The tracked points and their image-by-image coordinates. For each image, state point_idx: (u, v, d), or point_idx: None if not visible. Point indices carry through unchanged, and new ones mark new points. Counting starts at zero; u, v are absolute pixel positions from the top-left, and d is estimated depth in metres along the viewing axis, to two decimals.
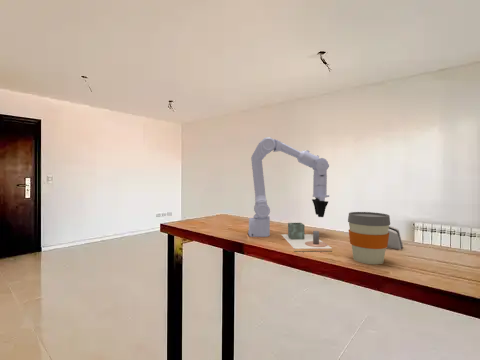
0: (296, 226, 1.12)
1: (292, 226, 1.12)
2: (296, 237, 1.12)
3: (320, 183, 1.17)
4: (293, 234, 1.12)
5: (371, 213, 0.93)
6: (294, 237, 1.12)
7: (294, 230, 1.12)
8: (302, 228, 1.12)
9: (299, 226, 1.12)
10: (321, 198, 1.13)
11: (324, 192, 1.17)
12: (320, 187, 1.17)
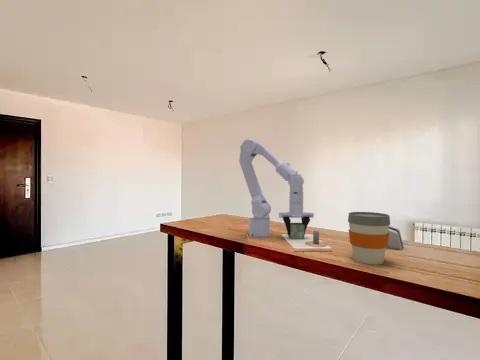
0: (296, 226, 1.12)
1: (292, 226, 1.12)
2: (296, 237, 1.12)
3: (293, 201, 1.12)
4: (293, 234, 1.12)
5: (371, 213, 0.93)
6: (294, 237, 1.12)
7: (294, 230, 1.12)
8: (302, 228, 1.12)
9: (299, 226, 1.12)
10: (279, 215, 1.14)
11: (291, 210, 1.13)
12: (289, 204, 1.14)
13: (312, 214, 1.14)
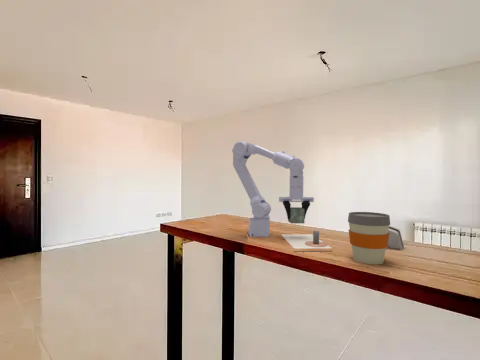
0: (296, 210, 1.12)
1: (292, 210, 1.12)
2: (296, 221, 1.12)
3: (293, 185, 1.12)
4: (293, 218, 1.12)
5: (371, 213, 0.93)
6: (294, 221, 1.12)
7: (294, 214, 1.12)
8: (302, 212, 1.12)
9: (299, 210, 1.12)
10: (279, 199, 1.14)
11: (291, 194, 1.13)
12: None
13: (312, 198, 1.14)
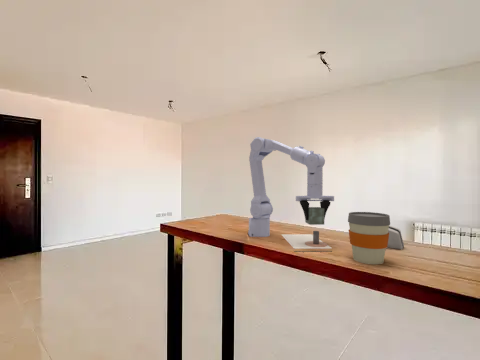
0: (315, 210, 1.02)
1: (311, 210, 1.02)
2: (315, 222, 1.02)
3: (310, 182, 1.03)
4: (312, 219, 1.02)
5: (371, 213, 0.93)
6: (313, 222, 1.02)
7: (313, 214, 1.02)
8: (322, 212, 1.02)
9: (318, 210, 1.02)
10: (296, 198, 1.04)
11: (310, 192, 1.03)
12: (307, 186, 1.04)
13: (332, 197, 1.04)
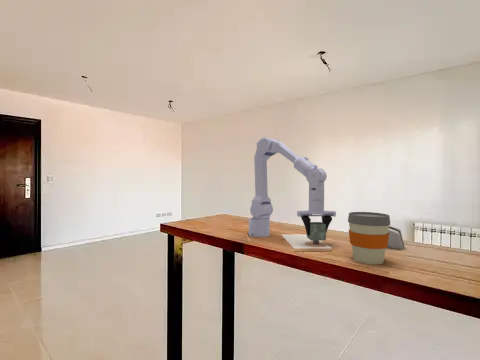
0: (317, 226, 1.01)
1: (312, 226, 1.01)
2: (317, 238, 1.01)
3: (311, 197, 1.02)
4: (313, 235, 1.01)
5: (371, 213, 0.93)
6: (314, 238, 1.01)
7: (314, 230, 1.01)
8: (323, 228, 1.01)
9: (320, 226, 1.01)
10: (297, 213, 1.04)
11: (311, 208, 1.02)
12: (309, 202, 1.04)
13: (334, 212, 1.03)
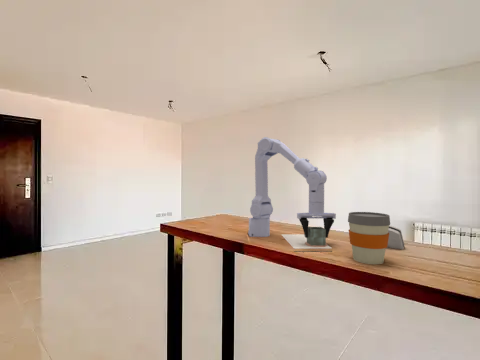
0: (316, 231, 1.01)
1: (312, 231, 1.01)
2: (316, 243, 1.01)
3: (311, 200, 1.02)
4: (313, 240, 1.01)
5: (371, 213, 0.93)
6: (314, 243, 1.01)
7: (314, 235, 1.01)
8: (323, 233, 1.01)
9: (320, 231, 1.01)
10: (297, 215, 1.04)
11: (311, 210, 1.02)
12: (309, 204, 1.04)
13: (334, 215, 1.03)
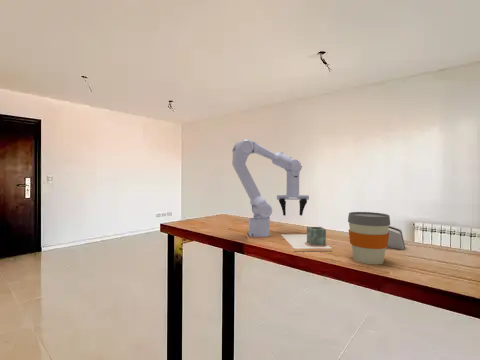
0: (316, 231, 1.01)
1: (312, 231, 1.01)
2: (316, 243, 1.01)
3: (294, 184, 1.21)
4: (313, 240, 1.01)
5: (371, 213, 0.93)
6: (314, 243, 1.01)
7: (314, 235, 1.01)
8: (323, 233, 1.01)
9: (320, 231, 1.01)
10: None
11: (288, 192, 1.22)
12: None
13: (307, 196, 1.23)
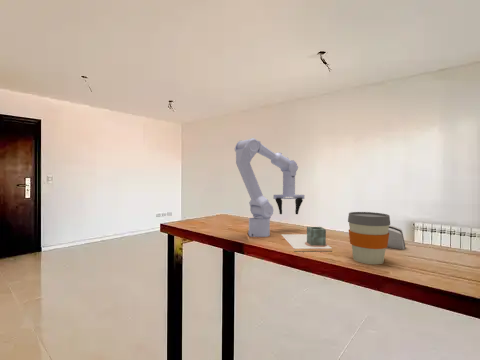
0: (316, 231, 1.01)
1: (312, 231, 1.01)
2: (316, 243, 1.01)
3: (292, 183, 1.26)
4: (313, 240, 1.01)
5: (371, 213, 0.93)
6: (314, 243, 1.01)
7: (314, 235, 1.01)
8: (323, 233, 1.01)
9: (320, 231, 1.01)
10: (273, 196, 1.28)
11: (284, 192, 1.27)
12: (283, 187, 1.28)
13: (303, 196, 1.28)
